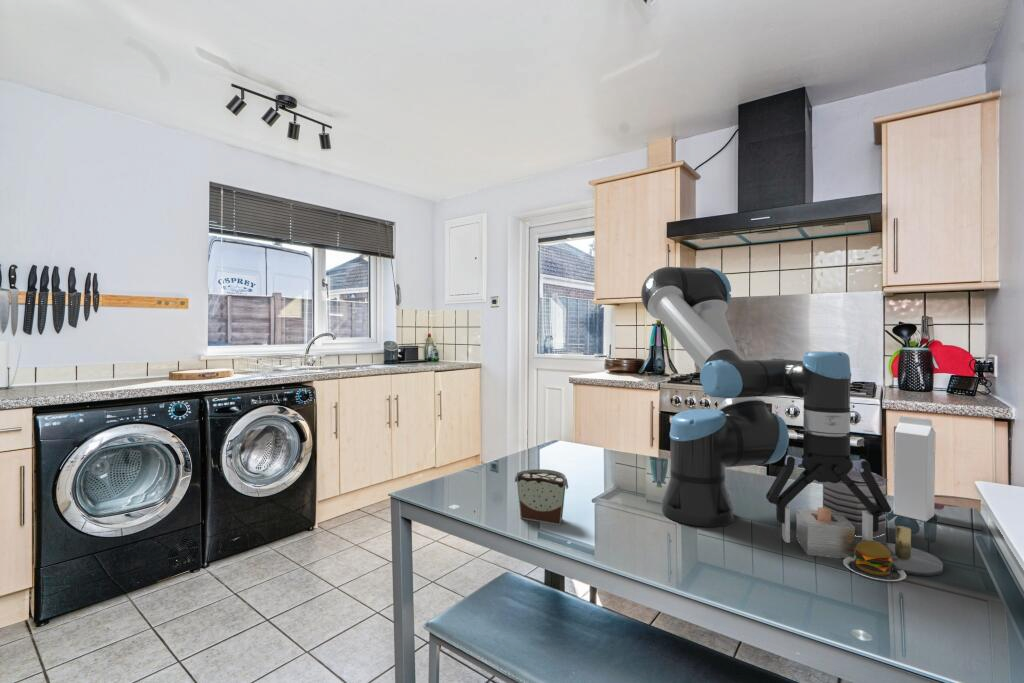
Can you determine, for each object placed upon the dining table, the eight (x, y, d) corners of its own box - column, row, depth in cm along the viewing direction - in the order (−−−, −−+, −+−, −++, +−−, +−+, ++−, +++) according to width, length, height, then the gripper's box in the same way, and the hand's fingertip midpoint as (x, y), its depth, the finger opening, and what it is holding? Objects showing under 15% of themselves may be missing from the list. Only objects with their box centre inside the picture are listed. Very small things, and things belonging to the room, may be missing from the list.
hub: (880, 571, 86) (880, 536, 86) (856, 544, 97) (856, 514, 97) (957, 579, 83) (957, 544, 83) (923, 551, 94) (924, 520, 94)
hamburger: (888, 598, 79) (888, 563, 79) (817, 565, 90) (817, 535, 90) (934, 583, 83) (935, 551, 83) (861, 553, 95) (861, 525, 94)
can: (829, 513, 114) (829, 461, 114) (890, 527, 106) (891, 471, 105) (814, 527, 106) (815, 471, 106) (880, 543, 98) (881, 482, 97)
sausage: (819, 550, 95) (819, 510, 95) (815, 545, 97) (816, 507, 97) (832, 551, 94) (832, 512, 94) (828, 546, 96) (828, 508, 96)
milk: (926, 522, 109) (928, 421, 108) (892, 513, 113) (894, 417, 113) (934, 515, 112) (936, 418, 112) (901, 508, 117) (903, 414, 116)
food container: (575, 516, 112) (575, 472, 112) (566, 526, 107) (566, 479, 106) (525, 508, 117) (525, 466, 117) (514, 517, 112) (514, 472, 112)
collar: (807, 554, 93) (807, 522, 93) (796, 538, 100) (796, 508, 100) (854, 559, 91) (854, 527, 91) (839, 542, 98) (839, 512, 98)
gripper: (758, 432, 95) (757, 544, 95) (914, 440, 88) (913, 560, 88) (750, 426, 102) (750, 529, 102) (894, 432, 95) (893, 543, 95)
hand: (825, 544), depth 95 cm, fingers open, 13 cm apart
